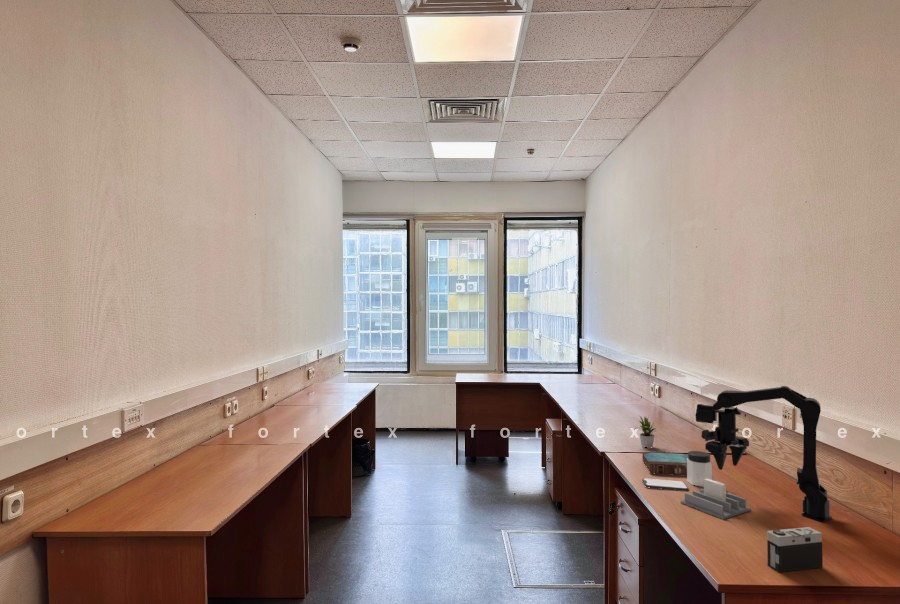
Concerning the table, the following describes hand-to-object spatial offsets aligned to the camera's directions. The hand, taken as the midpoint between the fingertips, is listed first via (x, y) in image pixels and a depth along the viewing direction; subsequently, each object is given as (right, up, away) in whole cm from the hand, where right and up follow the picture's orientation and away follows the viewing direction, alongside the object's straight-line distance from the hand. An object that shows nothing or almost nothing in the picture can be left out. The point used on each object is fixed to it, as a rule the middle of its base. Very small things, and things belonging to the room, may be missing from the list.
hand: (727, 467), depth 186 cm
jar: (-2, -12, +17) cm, 21 cm away
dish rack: (-8, -12, -7) cm, 16 cm away
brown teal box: (-5, -13, +35) cm, 38 cm away
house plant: (-3, -13, +71) cm, 72 cm away
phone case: (-17, -13, +14) cm, 26 cm away
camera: (-9, -12, -47) cm, 49 cm away
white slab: (-8, -11, -7) cm, 15 cm away
